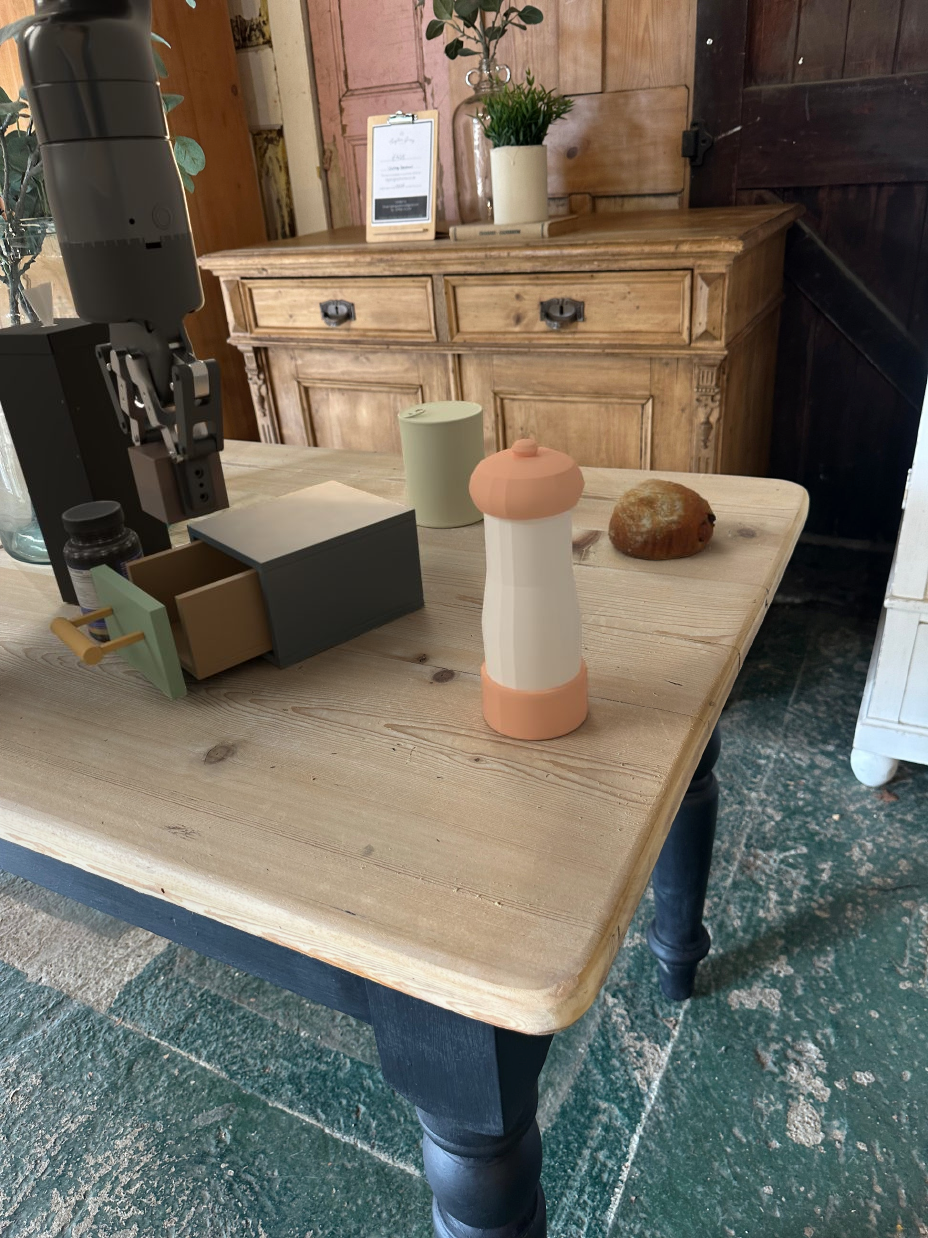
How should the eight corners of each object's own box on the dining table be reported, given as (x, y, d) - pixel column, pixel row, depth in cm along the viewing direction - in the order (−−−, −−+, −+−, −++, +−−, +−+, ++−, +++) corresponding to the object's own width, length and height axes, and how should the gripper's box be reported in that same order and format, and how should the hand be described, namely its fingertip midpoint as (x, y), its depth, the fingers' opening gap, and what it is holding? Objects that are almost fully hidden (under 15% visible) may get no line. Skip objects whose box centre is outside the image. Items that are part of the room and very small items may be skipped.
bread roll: (626, 554, 92) (593, 489, 89) (719, 515, 88) (688, 446, 85) (625, 594, 83) (589, 524, 80) (728, 553, 79) (694, 478, 77)
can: (396, 509, 99) (385, 404, 93) (470, 494, 102) (463, 391, 96) (424, 534, 91) (413, 422, 86) (503, 517, 94) (497, 407, 89)
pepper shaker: (487, 682, 64) (470, 426, 55) (587, 682, 63) (585, 422, 54) (478, 740, 57) (456, 460, 49) (588, 741, 56) (587, 456, 48)
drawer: (112, 727, 60) (84, 635, 57) (57, 671, 68) (30, 587, 65) (327, 634, 70) (314, 552, 67) (258, 595, 78) (243, 519, 75)
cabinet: (281, 669, 68) (260, 563, 64) (208, 620, 76) (186, 524, 72) (425, 606, 76) (415, 508, 72) (344, 568, 85) (331, 479, 80)
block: (168, 525, 56) (153, 459, 54) (141, 510, 59) (126, 447, 57) (230, 507, 58) (218, 444, 56) (201, 493, 61) (189, 432, 59)
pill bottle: (148, 605, 80) (118, 492, 75) (170, 627, 76) (140, 508, 71) (80, 627, 77) (44, 510, 72) (99, 651, 73) (62, 529, 68)
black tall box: (61, 603, 82) (-37, 291, 69) (120, 570, 88) (39, 278, 75) (125, 613, 79) (34, 288, 66) (181, 578, 85) (108, 275, 72)
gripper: (22, 235, 53) (92, 497, 61) (106, 237, 44) (177, 549, 51) (139, 225, 58) (190, 472, 65) (240, 225, 48) (286, 515, 56)
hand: (184, 504), depth 58 cm, fingers closed on block, 4 cm apart
